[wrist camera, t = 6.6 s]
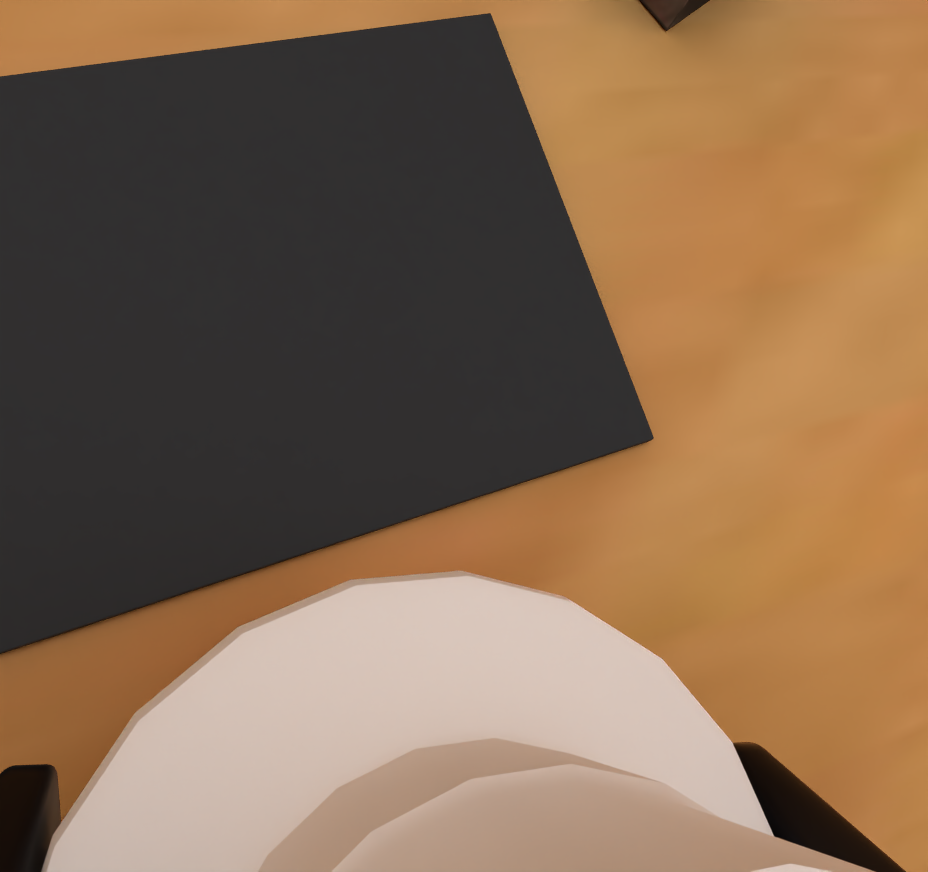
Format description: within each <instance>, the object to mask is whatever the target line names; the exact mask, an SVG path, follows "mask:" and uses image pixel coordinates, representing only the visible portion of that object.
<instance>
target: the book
mask: <svg viewBox="0 0 928 872" xmlns="http://www.w3.org/2000/svg"><path fill="white" fill-rule="evenodd" d="M640 1H641V2H642V3H643V4H644V6H645V7H646V8H647V9H648V10H649V11H650V13H651V14H652V15H653V16H654V17H655V18H656V19H657V21H658V22H659V23H660V24H661V25H662V26H663V28H664V29H665V30H666V31H667V30H668V29H670V28H671V27H673V26H674V25H675V24H677V23H678V22H680V21H681V20H683V19H684V18H685V17H687V16H688V15H690V14H691V13H692V12H694V11H695V10H697V9H698V8H699V7H701V6H702V5H704V4H705V3H707V2H708V1H709V0H640Z"/></svg>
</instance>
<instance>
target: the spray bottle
mask: <svg viewBox="0 0 928 872" xmlns="http://www.w3.org/2000/svg"><path fill="white" fill-rule="evenodd" d="M41 872H875V871H872V870H869V869H866V868H863V867H860V866H857V865H855V864H852V863H849V862H846V861H843V860H840V859H837V858H834V857H832V856H829V855H826V854H823V853H820V852H817V851H814V850H811V849H809V848H806V847H803V846H800V845H797V844H794V843H791V842H788V841H786V840H783V839H780V838H777V837H774V835H773V833H772V831H771V828H770V826H769V824H768V822H767V819H766V817H765V815H764V813H763V810H762V808H761V806H760V804H759V801H758V799H757V797H756V795H755V792H754V790H753V788H752V786H751V783H750V781H749V779H748V777H747V774H746V772H745V770H744V768H743V765H742V763H741V761H740V759H739V756H738V754H737V752H736V749H735V747H734V745H733V743H732V741H731V740H730V739H729V738H728V737H727V735H726V734H725V733H724V732H723V731H722V730H721V728H720V727H719V726H718V725H717V724H716V722H715V721H714V720H713V719H712V718H711V716H710V715H709V714H708V713H707V712H706V710H705V709H704V708H703V707H702V706H701V705H700V703H699V702H698V701H697V700H696V699H695V697H694V696H693V695H692V694H691V693H690V691H689V690H688V689H687V688H686V687H685V685H684V684H683V683H682V682H681V681H680V679H679V678H678V677H677V676H676V675H675V674H674V672H673V671H672V670H671V669H670V668H669V666H668V665H667V664H666V663H665V662H664V660H663V659H662V658H660V657H659V656H657V655H655V654H654V653H652V652H651V651H649V650H648V649H646V648H644V647H643V646H641V645H640V644H638V643H637V642H635V641H633V640H632V639H630V638H629V637H627V636H626V635H624V634H622V633H621V632H619V631H618V630H616V629H615V628H613V627H612V626H610V625H608V624H607V623H605V622H604V621H602V620H601V619H599V618H597V617H596V616H594V615H593V614H591V613H590V612H588V611H586V610H585V609H583V608H582V607H580V606H579V605H577V604H575V603H574V602H572V601H571V600H569V599H568V598H566V597H564V596H561V595H557V594H553V593H549V592H545V591H541V590H537V589H533V588H529V587H525V586H521V585H517V584H513V583H509V582H505V581H501V580H497V579H493V578H489V577H485V576H481V575H477V574H473V573H469V572H465V571H451V572H439V573H427V574H414V575H402V576H390V577H378V578H366V579H353V580H348V581H346V582H344V583H341V584H339V585H337V586H334V587H332V588H329V589H327V590H325V591H322V592H320V593H317V594H315V595H313V596H310V597H308V598H306V599H303V600H301V601H298V602H296V603H294V604H291V605H289V606H286V607H284V608H282V609H279V610H277V611H275V612H272V613H270V614H267V615H265V616H263V617H260V618H258V619H256V620H253V621H251V622H248V623H246V624H244V625H241V626H239V627H237V628H236V629H235V630H234V631H232V632H231V633H230V634H229V635H228V636H226V637H225V638H224V639H223V640H222V641H220V642H219V643H218V644H217V645H216V646H214V647H213V648H212V649H211V650H210V651H208V652H207V653H206V654H205V655H204V656H202V657H201V658H200V659H199V660H198V661H196V662H195V663H194V664H193V665H192V666H191V667H189V668H188V669H187V670H186V671H185V672H183V673H182V674H181V675H180V676H179V677H177V678H176V679H175V680H174V681H173V682H171V683H170V684H169V685H168V686H167V687H165V688H164V689H163V690H162V691H161V692H159V693H158V694H157V695H156V696H155V697H153V698H152V699H151V700H150V701H149V702H147V703H146V704H145V705H144V706H143V707H141V708H140V709H139V710H138V711H137V712H135V713H134V715H133V716H132V718H131V719H130V721H129V722H128V724H127V725H126V727H125V728H124V730H123V731H122V733H121V734H120V736H119V737H118V739H117V740H116V742H115V743H114V745H113V746H112V748H111V749H110V751H109V752H108V754H107V755H106V757H105V758H104V760H103V761H102V763H101V764H100V766H99V767H98V769H97V770H96V772H95V773H94V775H93V776H92V778H91V779H90V781H89V782H88V783H87V785H86V786H85V788H84V789H83V791H82V792H81V794H80V795H79V797H78V798H77V800H76V801H75V803H74V804H73V806H72V807H71V809H70V810H69V812H68V813H67V815H66V816H65V818H64V819H63V821H62V822H61V824H60V825H59V827H58V828H57V830H56V831H55V833H54V834H53V836H52V839H51V842H50V845H49V848H48V852H47V855H46V858H45V861H44V864H43V867H42V870H41Z"/></svg>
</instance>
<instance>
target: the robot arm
mask: <svg viewBox="0 0 928 872" xmlns="http://www.w3.org/2000/svg"><path fill="white" fill-rule="evenodd" d="M733 745H734V747H735V749H736V752H737V754H738V756H739V759H740V761H741V763H742V765H743V768H744V770H745V772H746V774H747V777H748V779H749V781H750V783H751V786H752V788H753V790H754V792H755V795H756V797H757V799H758V801H759V804H760V806H761V808H762V810H763V813H764V815H765V817H766V819H767V822H768V824H769V826H770V828H771V831H772V833H773V835H774V837H777V838H780V839H783V840H786V841H788V842H791V843H794V844H797V845H800V846H803V847H806V848H809V849H811V850H814V851H817V852H820V853H823V854H826V855H829V856H832V857H834V858H837V859H840V860H843V861H846V862H849V863H852V864H855V865H857V866H860V867H863V868H866V869H869V870H872V871H875V872H906V871H905V870H903V869H902V868H901V867H900V866H899V865H898V864H897V863H895V862H894V861H893V860H892V859H891V858H890V857H888V856H887V855H886V854H885V853H884V852H883V851H882V850H880V849H879V848H878V847H877V846H876V845H875V844H874V843H872V842H871V841H870V840H869V839H868V838H867V837H865V836H864V835H863V834H862V833H861V832H860V831H859V830H857V829H856V828H855V827H854V826H853V825H852V824H850V823H849V822H848V821H847V820H846V819H845V818H844V817H842V816H841V815H840V814H839V813H838V812H837V811H835V810H834V809H833V808H832V807H831V806H830V805H829V804H827V803H826V802H825V801H824V800H823V799H822V798H821V797H819V796H818V795H817V794H816V793H815V792H814V791H812V790H811V789H810V788H809V787H808V786H807V785H806V784H804V783H803V782H802V781H801V780H800V779H799V778H797V777H796V776H795V775H794V774H793V773H792V772H791V771H789V770H788V769H787V768H786V767H785V766H784V765H783V764H781V763H780V762H779V761H778V760H777V759H776V758H774V757H773V756H772V755H771V754H770V753H769V752H768V751H766V750H765V749H764V748H763V747H761V746H759V745H758V744H755V743H750V742H740V743H733ZM60 824H61V815H60V802H59V788H58V776H57V771H56V769H55V767H54V766H52V765H48V764H42V765H15V766H11V767H9V768H7V769H5V770H4V771H3V772H2V773H1V774H0V872H41V870H42V867H43V864H44V861H45V858H46V855H47V852H48V848H49V845H50V842H51V839H52V836H53V834H54V833H55V831H56V830H57V828H58V827H59V825H60Z"/></svg>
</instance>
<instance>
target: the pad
mask: <svg viewBox="0 0 928 872" xmlns="http://www.w3.org/2000/svg"><path fill="white" fill-rule="evenodd" d="M653 438H654V437H653V435H652V432H651V430H650V427H649V424H648V422H647V419H646V417H645V414H644V411H643V409H642V406H641V404H640V401H639V398H638V396H637V393H636V390H635V388H634V385H633V383H632V380H631V377H630V375H629V372H628V370H627V367H626V364H625V362H624V359H623V357H622V354H621V351H620V349H619V346H618V344H617V341H616V338H615V336H614V333H613V331H612V328H611V325H610V323H609V320H608V318H607V315H606V312H605V310H604V307H603V305H602V302H601V299H600V297H599V294H598V292H597V289H596V286H595V284H594V281H593V279H592V276H591V273H590V271H589V268H588V266H587V263H586V260H585V258H584V255H583V253H582V250H581V247H580V245H579V242H578V240H577V237H576V234H575V232H574V229H573V227H572V224H571V221H570V219H569V216H568V214H567V211H566V208H565V206H564V203H563V201H562V198H561V195H560V193H559V190H558V188H557V185H556V182H555V180H554V177H553V175H552V172H551V169H550V167H549V164H548V162H547V159H546V156H545V154H544V151H543V149H542V146H541V143H540V141H539V138H538V136H537V133H536V130H535V128H534V125H533V123H532V120H531V117H530V115H529V112H528V110H527V107H526V104H525V102H524V99H523V97H522V94H521V91H520V89H519V86H518V84H517V81H516V78H515V76H514V73H513V71H512V68H511V65H510V63H509V60H508V58H507V55H506V52H505V50H504V47H503V45H502V42H501V39H500V37H499V34H498V31H497V29H496V26H495V24H494V21H493V18H492V16H491V14H490V13H489V14H481V15H473V16H465V17H458V18H450V19H442V20H434V21H427V22H419V23H411V24H404V25H396V26H388V27H380V28H373V29H365V30H357V31H349V32H342V33H334V34H326V35H318V36H311V37H303V38H295V39H287V40H280V41H272V42H264V43H257V44H249V45H241V46H233V47H226V48H218V49H210V50H202V51H195V52H187V53H179V54H171V55H164V56H156V57H148V58H141V59H133V60H125V61H117V62H110V63H102V64H94V65H86V66H79V67H71V68H63V69H55V70H48V71H40V72H32V73H24V74H17V75H9V76H1V77H0V654H2V653H5V652H8V651H11V650H14V649H17V648H20V647H23V646H26V645H29V644H32V643H35V642H38V641H41V640H44V639H47V638H51V637H54V636H57V635H60V634H63V633H66V632H69V631H72V630H75V629H78V628H81V627H84V626H87V625H90V624H93V623H96V622H99V621H102V620H105V619H108V618H112V617H115V616H118V615H121V614H124V613H127V612H130V611H133V610H136V609H139V608H142V607H145V606H148V605H151V604H154V603H157V602H160V601H163V600H166V599H169V598H172V597H176V596H179V595H182V594H185V593H188V592H191V591H194V590H197V589H200V588H203V587H206V586H209V585H212V584H215V583H218V582H221V581H224V580H227V579H230V578H233V577H237V576H240V575H243V574H246V573H249V572H252V571H255V570H258V569H261V568H264V567H267V566H270V565H273V564H276V563H279V562H282V561H285V560H288V559H291V558H294V557H297V556H301V555H304V554H307V553H310V552H313V551H316V550H319V549H322V548H325V547H328V546H331V545H334V544H337V543H340V542H343V541H346V540H349V539H352V538H355V537H358V536H362V535H365V534H368V533H371V532H374V531H377V530H380V529H383V528H386V527H389V526H392V525H395V524H398V523H401V522H404V521H407V520H410V519H413V518H416V517H419V516H423V515H426V514H429V513H432V512H435V511H438V510H441V509H444V508H447V507H450V506H453V505H456V504H459V503H462V502H465V501H468V500H471V499H474V498H477V497H480V496H483V495H487V494H490V493H493V492H496V491H499V490H502V489H505V488H508V487H511V486H514V485H517V484H520V483H523V482H526V481H529V480H532V479H535V478H538V477H541V476H544V475H548V474H551V473H554V472H557V471H560V470H563V469H566V468H569V467H572V466H575V465H578V464H581V463H584V462H587V461H590V460H593V459H596V458H599V457H602V456H605V455H608V454H612V453H615V452H618V451H621V450H624V449H627V448H630V447H633V446H636V445H639V444H642V443H645V442H648V441H650V440H652V439H653Z"/></svg>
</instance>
